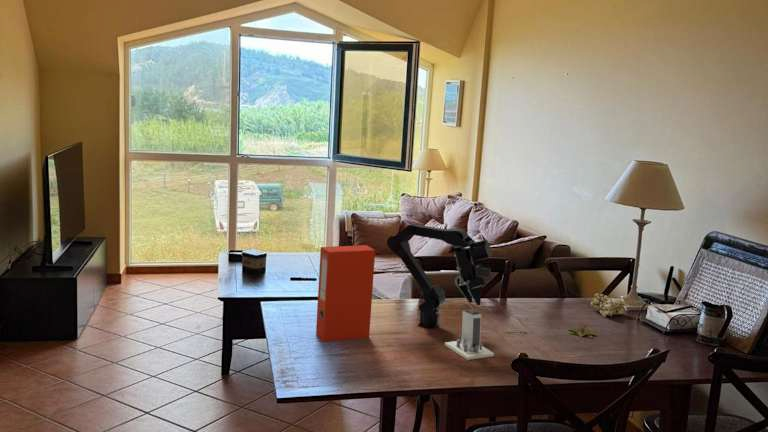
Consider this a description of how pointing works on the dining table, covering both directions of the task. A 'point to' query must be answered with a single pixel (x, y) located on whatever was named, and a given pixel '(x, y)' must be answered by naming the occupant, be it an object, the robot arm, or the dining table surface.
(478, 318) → the block
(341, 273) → the file binder
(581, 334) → the olive green spiky piece
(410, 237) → the robot arm
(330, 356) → the dining table surface
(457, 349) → the white pegged base
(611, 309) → the mineral formation
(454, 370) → the dining table surface
